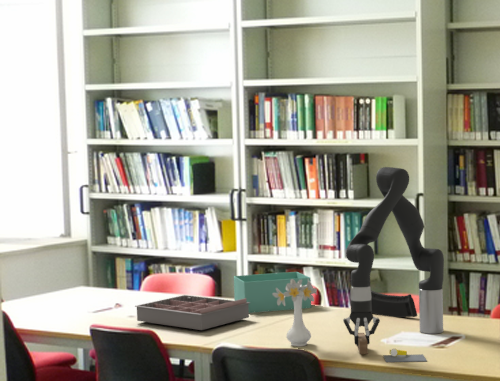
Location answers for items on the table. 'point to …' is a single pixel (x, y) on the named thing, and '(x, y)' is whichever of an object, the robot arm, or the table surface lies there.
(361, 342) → the walnut slat
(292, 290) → the flower vase
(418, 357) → the felt mat
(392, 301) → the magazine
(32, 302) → the table surface
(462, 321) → the table surface
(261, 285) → the box
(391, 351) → the watch
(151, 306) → the organizer tray
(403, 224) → the robot arm
